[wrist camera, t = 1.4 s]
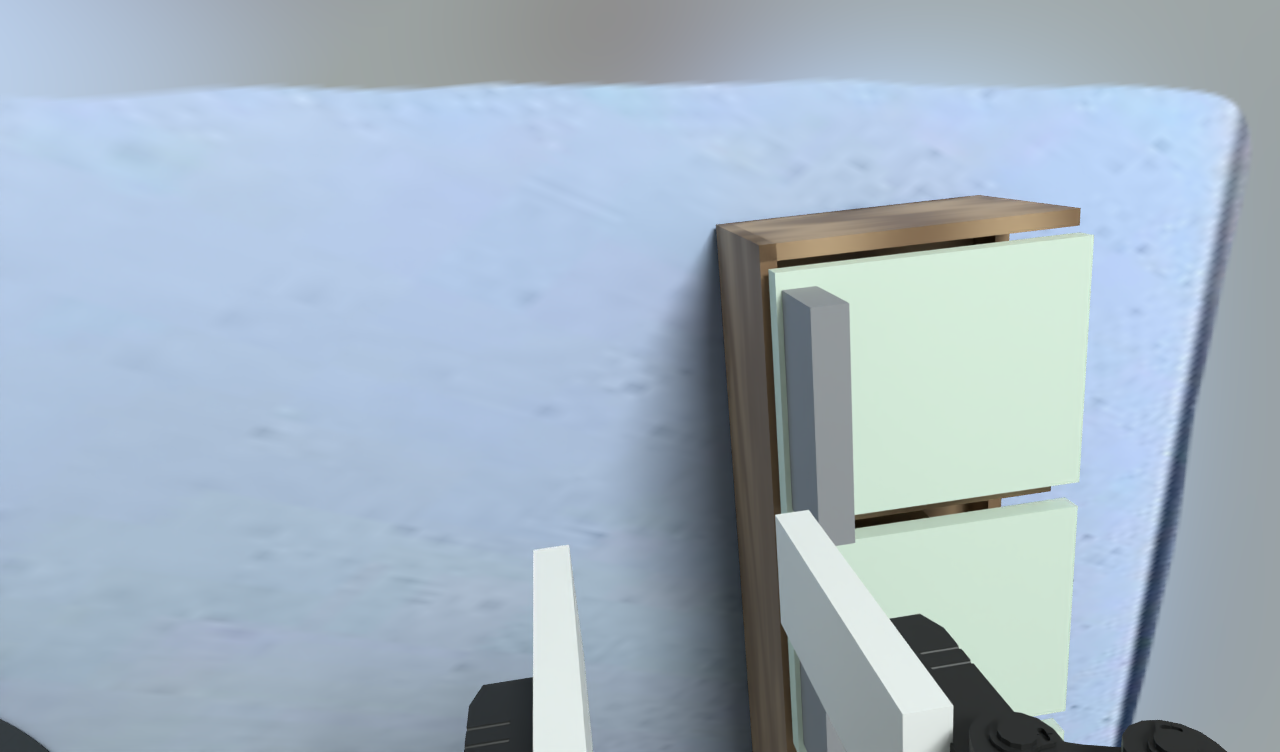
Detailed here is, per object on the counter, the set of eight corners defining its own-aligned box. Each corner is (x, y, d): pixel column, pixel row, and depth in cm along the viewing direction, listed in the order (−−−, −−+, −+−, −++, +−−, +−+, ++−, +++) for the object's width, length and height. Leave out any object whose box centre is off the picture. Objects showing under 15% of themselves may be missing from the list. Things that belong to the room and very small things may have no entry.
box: (757, 819, 44) (797, 942, 37) (715, 224, 35) (759, 245, 28) (966, 782, 45) (1042, 894, 38) (978, 195, 36) (1080, 208, 29)
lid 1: (781, 515, 31) (814, 565, 27) (768, 269, 28) (802, 288, 24) (1066, 473, 32) (1134, 517, 28) (1079, 232, 29) (1156, 246, 25)
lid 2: (793, 742, 34) (824, 815, 30) (782, 539, 31) (815, 592, 27) (1053, 698, 35) (1114, 763, 31) (1064, 497, 32) (1132, 543, 28)
